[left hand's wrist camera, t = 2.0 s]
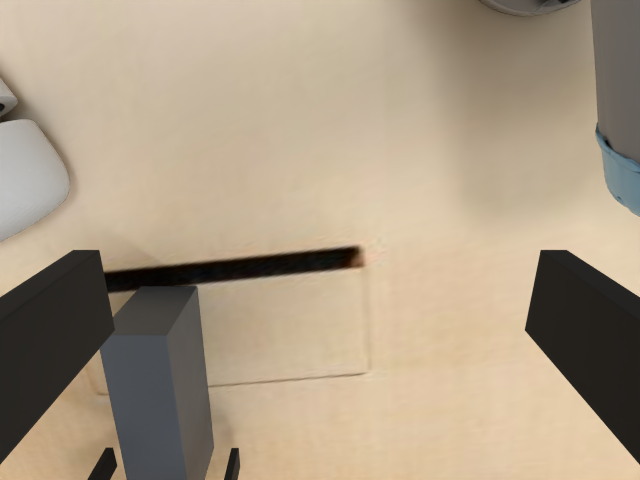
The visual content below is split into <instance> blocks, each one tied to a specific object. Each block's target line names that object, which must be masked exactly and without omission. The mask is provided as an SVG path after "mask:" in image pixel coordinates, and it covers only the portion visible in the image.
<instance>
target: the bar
mask: <svg viewBox="0 0 640 480" xmlns="http://www.w3.org/2000/svg"><path fill="white" fill-rule="evenodd" d="M113 322H114V327H115V331H114V332H113V333H112V334H111V336H110V337H109V338H108V339H107V340H106V341H105V343H104V344H103V345H102V346H101V347H100V353H101V358H102V363H103V367H104V372H105V377H106V382H107V387H108V391H109V396H110V401H111V406H112V410H113V415H114V420H115V425H116V430H117V434H118V439H119V444H120V449H121V454H122V458H123V463H124V468H125V473H126V477H127V480H205V476H206V473H207V469H208V466H209V463H210V459H211V456H212V452H213V449H214V442H213V433H212V423H211V414H210V404H209V395H208V386H207V376H206V367H205V357H204V348H203V338H202V329H201V319H200V310H199V301H198V291H197V287H195V286H141V287H140V288H139V289H138V290H137V291H136V293H135V294H134V295H133V296H132V297H131V298H130V299H129V300H128V301H127V302H126V304H125V305H124V306H123V307H122V308H121V309H120V310H119V311H118V312H117V313H116V315H115V316H114V317H113Z"/></svg>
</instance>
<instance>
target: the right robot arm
mask: <svg viewBox="0 0 640 480" xmlns="http://www.w3.org/2000/svg"><path fill="white" fill-rule="evenodd" d="M116 467H117V463H116V458H115V454H114V450H113V448H106V449H105V450H104V452H103V454H102V455H101V457H100V459H99V461H98V462H97V464H96V466H95V467H94V469H93V471H92V473H91V474H90V476H89V478H88V480H110V479H111V477H112V475H113V473H114V471H115V469H116ZM239 469H240V459H239V448H232V449H231V453H230V457H229V461H228V465H227V470H226V474H225V478H224V480H237V479H238V474H239Z"/></svg>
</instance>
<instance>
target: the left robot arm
mask: <svg viewBox="0 0 640 480" xmlns="http://www.w3.org/2000/svg"><path fill="white" fill-rule="evenodd" d="M480 1H481V2H483V3H484V4H486V5H487V6H489V7H491V8H493V9H495V10H497V11H500V12H503V13H506V14H511V15H517V16H535V15H542V14H546V13H550V12H553V11H556V10H559V9H562V8H565V7H568V6H570V5H572V4H575V3H577V2H579V1H580V0H480ZM591 13H592V27H593V42H594V56H595V70H596V91H597V111H598V122H597V126H596V139H597V141H598V143H599V145H600V147H601V151H602V158H603V166H604V175H605V181H606V184H607V187H608V189H609V191H610V193H611V194H612V196H613V197H614V198H615V199H616V200H617V201H618V202H620V203H621V204H622V205H623V206H625V207H627V208H629V210H630V211H631V212H632V213H634V214H636V215H637V216H639V217H640V0H591ZM114 331H115V327H114V322H113V317H112V312H111V307H110V302H109V297H108V292H107V287H106V282H105V277H104V272H103V267H102V262H101V257H100V252H99V250H73V251H71V252H70V253H68V254H67V255H65V256H63V257H62V258H60V259H59V260H57V261H56V262H54V263H53V264H51V265H50V266H48V267H46V268H45V269H43V270H42V271H40V272H39V273H37V274H36V275H34V276H33V277H31V278H29V279H28V280H26V281H25V282H23V283H22V284H20V285H19V286H17V287H16V288H14V289H12V290H11V291H9V292H8V293H6V294H5V295H3V296H2V297H0V464H1V463H2V462H3V461H4V460H5V458H6V457H7V456H8V455H9V454H10V453H11V451H12V450H13V449H14V448H15V447H16V446H17V444H18V443H19V442H20V441H21V440H22V439H23V437H24V436H25V435H26V434H27V433H28V432H29V430H30V429H31V428H32V427H33V426H34V425H35V423H36V422H37V421H38V420H39V419H40V417H41V416H42V415H43V414H44V413H45V412H46V410H47V409H48V408H49V407H50V406H51V405H52V403H53V402H54V401H55V400H56V399H57V398H58V396H59V395H60V394H61V393H62V392H63V391H64V389H65V388H66V387H67V386H68V385H69V384H70V382H71V381H72V380H73V379H74V378H75V377H76V375H77V374H78V373H79V372H80V371H81V370H82V368H83V367H84V366H85V365H86V364H87V363H88V361H89V360H90V359H91V358H92V357H93V355H94V354H95V353H96V352H97V351H98V350H99V348H100V347H101V346H102V345H103V344H104V343H105V341H106V340H107V339H108V338H109V337H110V336H111V334H112V333H113V332H114ZM525 331H526V332H527V333H528V334H529V336H530V337H531V338H532V339H533V340H534V341H535V343H536V344H537V345H538V346H539V347H540V348H541V350H542V351H543V352H544V353H545V354H546V355H547V357H548V358H549V359H550V360H551V361H552V363H553V364H554V365H555V366H556V367H557V368H558V370H559V371H560V372H561V373H562V374H563V375H564V377H565V378H566V379H567V380H568V381H569V382H570V384H571V385H572V386H573V387H574V388H575V389H576V391H577V392H578V393H579V394H580V395H581V396H582V398H583V399H584V400H585V401H586V402H587V403H588V405H589V406H590V407H591V408H592V409H593V410H594V412H595V413H596V414H597V415H598V416H599V417H600V419H601V420H602V421H603V422H604V423H605V425H606V426H607V427H608V428H609V429H610V430H611V432H612V433H613V434H614V435H615V436H616V437H617V439H618V440H619V441H620V442H621V443H622V444H623V446H624V447H625V448H626V449H627V450H628V451H629V453H630V454H631V455H632V456H633V457H634V458H635V460H636V461H637V462H638V463H639V464H640V297H638V296H637V295H635V294H634V293H632V292H631V291H629V290H628V289H626V288H624V287H623V286H621V285H620V284H618V283H617V282H615V281H614V280H612V279H611V278H609V277H607V276H606V275H604V274H603V273H601V272H600V271H598V270H597V269H595V268H594V267H592V266H590V265H589V264H587V263H586V262H584V261H583V260H581V259H580V258H578V257H577V256H575V255H573V254H572V253H570V252H569V251H567V250H541V252H540V257H539V262H538V267H537V272H536V277H535V282H534V287H533V292H532V297H531V302H530V307H529V312H528V317H527V322H526V327H525Z"/></svg>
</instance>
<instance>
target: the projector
mask: <svg viewBox="0 0 640 480" xmlns="http://www.w3.org/2000/svg"><path fill="white" fill-rule="evenodd" d="M17 102H18V101H17V98H16V97H15V96H14V94H13V93H12V92H11V91H10V89H9V88H8V87H7V85H6V84H5V83H4V82H3V80H2V79H1V78H0V117H1V116H3V115H4V114H6V113H7V112H9V111H10V110H12V109H13V108H14V107H15V106H16V104H17ZM69 189H70V180H69V176H68V173H67V170H66V168H65V165H64V163H63V162H62V160H61V158H60V157H59V155H58V154H57V152H56V151H55V149H54V148H53V146H52V145H51V143H50V142H49V141H48V139H47V138H46V136H45V135H44V134H43V132H42V131H41V130H40V128H39V127H38V126H37V124H36V123H35V122H34V121H32V120H29V119H20V120H12V121H7V122H3V123H0V242H1V241H3V240H5V239H7V238H9V237H11V236H13V235H15V234H17V233H19V232H21V231H22V230H24V229H26V228H28V227H29V226H31V225H33V224H34V223H36V222H38V221H39V220H41V219H42V218H44V217H45V216H47V215H48V214H49V213H51V212H52V211H53V210H55V209H56V208H57V207H58V206H59V205H60V204H61V203H62V202H63V201H64V200H65V198H66V197H67V195H68V193H69Z"/></svg>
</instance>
